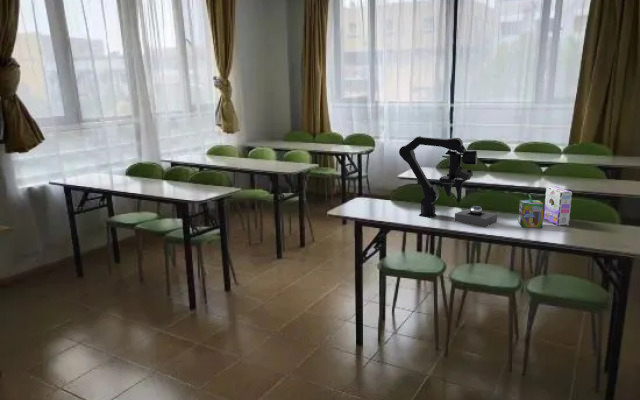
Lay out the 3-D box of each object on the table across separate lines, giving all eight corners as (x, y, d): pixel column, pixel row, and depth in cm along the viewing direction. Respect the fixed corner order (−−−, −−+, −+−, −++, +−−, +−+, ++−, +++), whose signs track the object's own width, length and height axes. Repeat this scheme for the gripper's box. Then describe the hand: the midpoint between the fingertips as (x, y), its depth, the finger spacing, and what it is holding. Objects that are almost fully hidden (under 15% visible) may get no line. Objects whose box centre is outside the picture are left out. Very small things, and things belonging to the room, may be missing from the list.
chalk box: (542, 228, 228) (545, 197, 225) (521, 227, 230) (524, 196, 226) (537, 223, 237) (540, 193, 234) (517, 222, 238) (519, 192, 235)
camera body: (454, 221, 242) (454, 213, 241) (466, 216, 250) (466, 209, 249) (485, 227, 231) (485, 219, 230) (496, 222, 239) (497, 214, 238)
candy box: (569, 225, 232) (573, 191, 228) (557, 226, 231) (560, 192, 228) (554, 218, 245) (557, 185, 241) (542, 218, 245) (545, 186, 241)
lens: (467, 218, 240) (468, 206, 239) (473, 216, 244) (473, 204, 243) (478, 221, 236) (478, 208, 235) (483, 218, 240) (484, 206, 239)
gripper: (460, 167, 230) (458, 200, 233) (479, 163, 243) (477, 194, 246) (439, 165, 238) (438, 197, 241) (458, 161, 251) (457, 191, 254)
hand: (453, 194), depth 245 cm, fingers open, 9 cm apart
